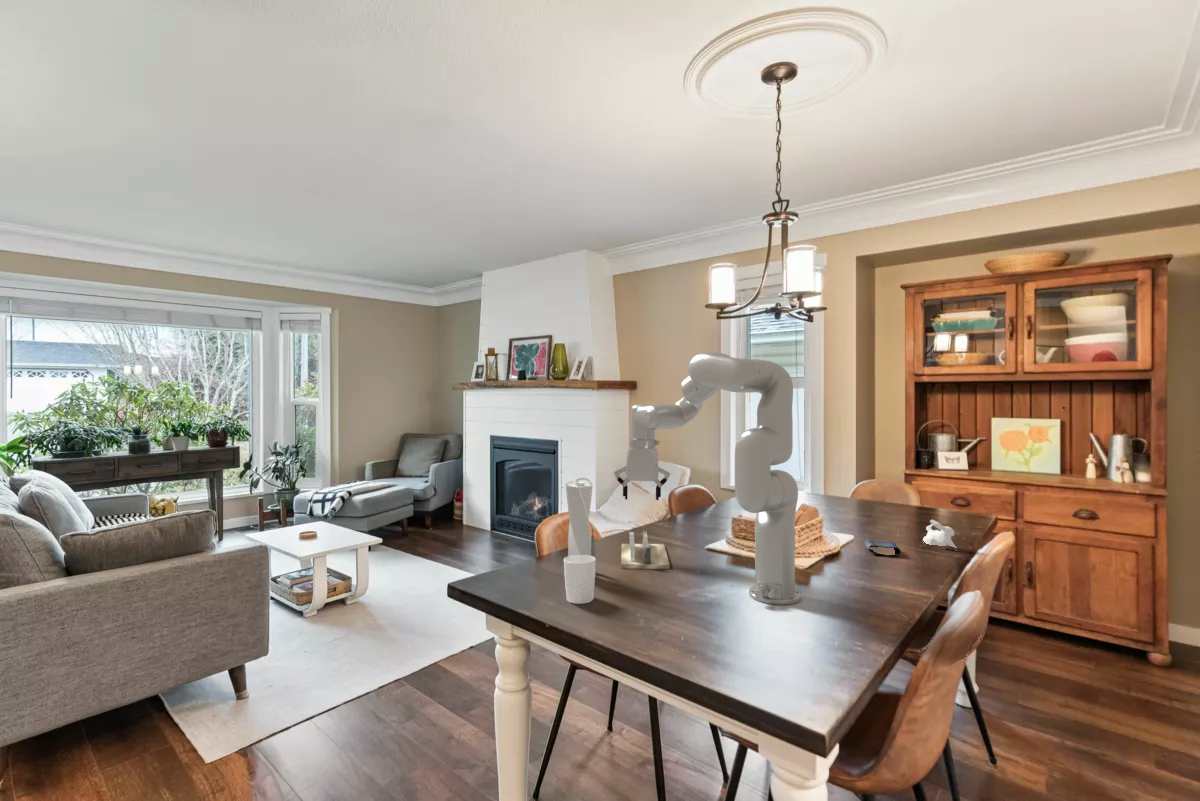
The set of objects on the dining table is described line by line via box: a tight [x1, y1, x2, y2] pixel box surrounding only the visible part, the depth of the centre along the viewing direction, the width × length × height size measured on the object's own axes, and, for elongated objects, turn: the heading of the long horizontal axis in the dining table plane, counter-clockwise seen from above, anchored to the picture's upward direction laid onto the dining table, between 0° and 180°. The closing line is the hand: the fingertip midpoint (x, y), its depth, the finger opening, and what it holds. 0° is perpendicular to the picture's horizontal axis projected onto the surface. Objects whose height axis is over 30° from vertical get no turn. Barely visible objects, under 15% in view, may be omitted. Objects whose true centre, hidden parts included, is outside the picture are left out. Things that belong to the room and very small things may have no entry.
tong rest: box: [620, 530, 671, 570], centre depth 179 cm, size 14×24×6 cm, turn 178°
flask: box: [864, 539, 902, 556], centre depth 184 cm, size 9×3×11 cm
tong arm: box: [628, 531, 636, 561], centre depth 179 cm, size 1×18×4 cm, turn 178°
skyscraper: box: [565, 477, 597, 580], centre depth 160 cm, size 8×8×28 cm
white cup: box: [563, 555, 597, 605], centre depth 142 cm, size 8×8×10 cm
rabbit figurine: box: [922, 519, 957, 548], centre depth 188 cm, size 12×8×10 cm, turn 21°
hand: (641, 499), depth 180 cm, fingers open, 9 cm apart
